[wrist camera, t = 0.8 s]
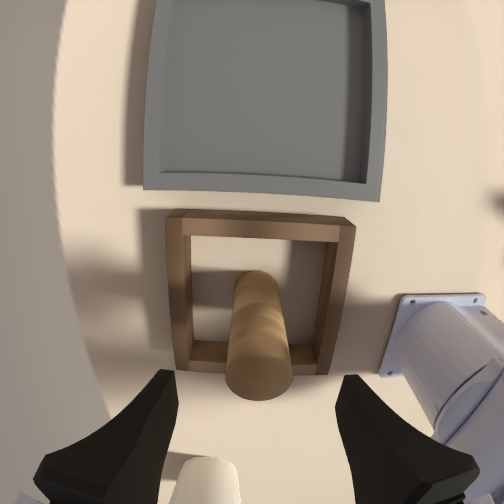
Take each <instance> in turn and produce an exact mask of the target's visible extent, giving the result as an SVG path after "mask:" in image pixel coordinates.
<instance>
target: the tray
mask: <svg viewBox="0 0 504 504" xmlns="http://www.w3.org/2000/svg"><path fill="white" fill-rule="evenodd" d="M387 88H388V62H387V31H386V14H385V1H384V0H156V6H155V12H154V19H153V26H152V34H151V42H150V51H149V60H148V71H147V83H146V97H145V114H144V141H143V190H186V191H224V192H249V193H269V194H286V195H301V196H315V197H327V198H339V199H350V200H361V201H371V202H380V193H381V184H382V175H383V164H384V152H385V138H386V120H387Z"/></svg>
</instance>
